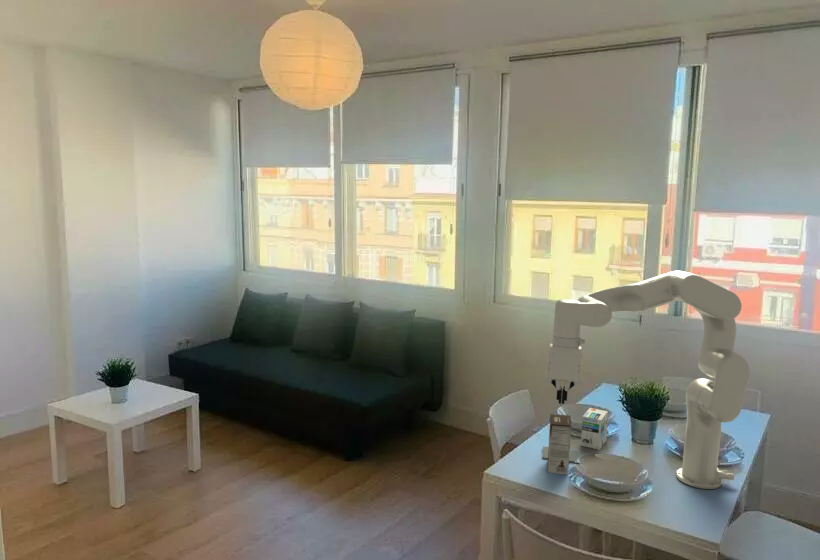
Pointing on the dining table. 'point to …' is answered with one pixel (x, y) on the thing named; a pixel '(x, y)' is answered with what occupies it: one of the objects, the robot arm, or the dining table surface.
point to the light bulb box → (594, 428)
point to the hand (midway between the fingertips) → (561, 402)
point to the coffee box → (559, 443)
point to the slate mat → (572, 456)
